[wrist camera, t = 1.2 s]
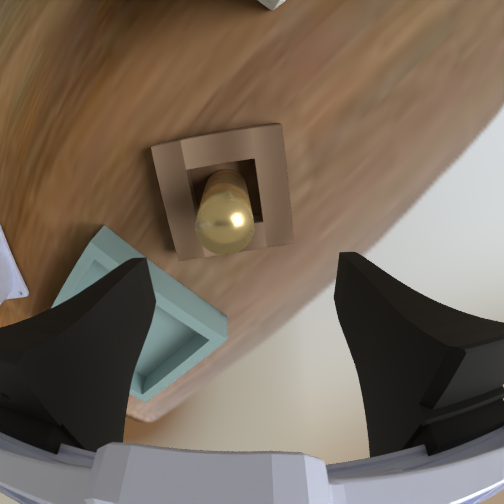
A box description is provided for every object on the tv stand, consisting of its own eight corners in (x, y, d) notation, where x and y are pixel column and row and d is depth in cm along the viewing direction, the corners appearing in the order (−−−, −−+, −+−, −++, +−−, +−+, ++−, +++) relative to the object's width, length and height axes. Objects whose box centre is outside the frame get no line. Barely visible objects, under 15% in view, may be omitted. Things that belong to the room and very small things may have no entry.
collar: (181, 251, 24) (178, 261, 22) (155, 143, 20) (150, 147, 18) (290, 234, 24) (294, 243, 22) (278, 122, 20) (281, 124, 18)
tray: (149, 381, 31) (145, 402, 28) (49, 315, 26) (37, 334, 23) (227, 316, 27) (227, 339, 24) (104, 224, 22) (90, 241, 20)
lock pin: (209, 212, 22) (201, 258, 16) (201, 173, 21) (189, 205, 15) (249, 206, 22) (258, 250, 16) (243, 166, 21) (250, 195, 15)
